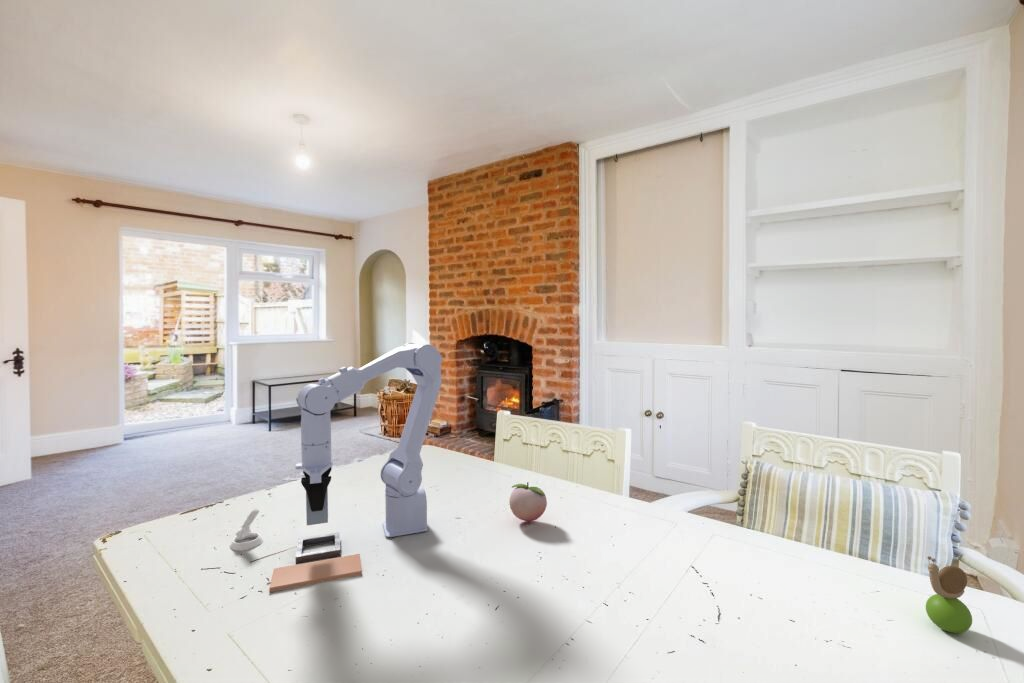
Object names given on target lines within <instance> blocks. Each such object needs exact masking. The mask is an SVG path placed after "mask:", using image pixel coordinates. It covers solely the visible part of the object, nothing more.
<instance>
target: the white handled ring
mask: <svg viewBox="0 0 1024 683" xmlns="http://www.w3.org/2000/svg"><path fill="white" fill-rule="evenodd" d="M259 513H260V510H259V508H258V507H254V508H253V509H252V510H251V511H250V513H249V515H248V516H247V517H246V518H245V519H246V520H244V522H243V523H242V525H241V526H240V527H239V528H238V529H237V531H236V532H235V537H234V538H233V539H232V540H231V542H230V545H229V549H230V550H232V551H246V550H247V551H248V550H250V549H253V548H256V547H257V546H259V545H261V544H263V542H264V539H263V536H262V535H261V534H260V533H258V532H256V531H255V532H252V530H251V525H252V523H253V522H254V520H255V519H256V517H257V515H258V514H259ZM249 538H251V539H252V538H255V539H252V540H249V541H246V542H239V541H241V540H245V539H249Z"/></svg>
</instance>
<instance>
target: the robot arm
mask: <svg viewBox="0 0 1024 683" xmlns="http://www.w3.org/2000/svg"><path fill="white" fill-rule="evenodd" d="M442 363H443V356H442V355H441V354H440V352H439V350H438V349H437V347H436V346H434V345H432V344H429V343H427V344H418V343H413V342H407V343H405V344H404V345H401V346H398V347H395V348H393V349H392V350H390V351H388V352H386V353H385V354H383V355H380V356H379V357H378V358H375V359H374V360H372V361H370V362H369V363H367V364H365V365H363V366H361V367H359V368H356V367H353V366H349V367H347V366H342V367H340V368H338V371H337V372H336V373H334V374H332V375H330V376H327V377H325V378H324V377H320V378H319V379H318V380H317V381H318V383H310V384H309V383H308V384H307V385H305V386H303V387H302V388H301V390H299V392H298V395H297V397H295V400H296V404H297V406H298V407H299V408H300V417H301V418H300V432H301V433H300V434H301V435H300V441H301V444H300V445H301V448H300V449H301V462H299V463H298V462H297V463H296V464H295V470H302V474H303V475H304V476H303V477H301V479H300V480H301V481H300V483H301V485H302V487H303V488H304V490H305V494H306V493H307V495H308V499H309V504H310V508H311V511H312V512H314V511H321V510H323V507H324V501H325V494H326V490H327V487H329V485H330V483H331V480H332V476H331V475H330V474H331V472H332V467H333V460H332V427H331V426H332V420H331V411H332V409H333V408H334V406H335V404H338V403H340V402H342V401H344V400H346V399H347V398H349V397H351V396H353V395H355V394H358V392H361V391H362V390H363V389H364V388H365V384H366V383H367V382H368V381H370V380H373V379H375V378H377V377H380V376H381V375H384V374H385V373H388V372H391V371H392V370H394V369H395V370H396V369H397V368H400V369H401V368H402V369H405V370H407V371H408V373H410V374H411V375H412V377H413V379H414V380H415V383H416V384H417V386H416V389H415V392H414V395H413V398H412V401H411V404H410V408H409V411H408V414H407V417H406V421H405V423H404V427H403V428H402V433H401V436H400V438H399V442H398V445H397V447H396V448H395V449H394V450H393V451H391V452H390V453H389V456H388V458H387V460H386V462H384V463H383V465H382V468H381V469H380V479H381V481H382V483H384V485H385V490H384V491H385V495H384V497H385V520H384V521H382V527H383V531H384V535H385V538H386V539H387V538H388V539H389V538H392V537H399V536H405V535H406V536H407V535H410V534H418V533H423V532H427V531H428V514H427V513H428V502H427V501H428V500H427V499H428V498H427V493H426V489H425V488H421V484H422V482H423V475H422V472H423V471H422V470H423V466H424V463H423V460H422V457H421V451H422V447H423V444H424V441H425V437H426V435H427V432H428V428H429V424H430V422H431V418H432V416H433V415H432V414H433V412H434V409H435V406H436V402H437V399H438V396H439V392H440V391H441V387H442V384H443V383H442V370H441V365H442Z"/></svg>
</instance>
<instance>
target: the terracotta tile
mask: <svg viewBox="0 0 1024 683" xmlns="http://www.w3.org/2000/svg"><path fill="white" fill-rule="evenodd" d="M361 560H362V559H361V554H360V553H357V554H351V555H346V556H345V555H343V556H340V557H336V558H330V559H325V560H319V561H313V562H307V563H302V564H292V565H288V566H287V565H286V566H281V567H275V568H273V571H272V574H271V580H270V585H269V593H271V592H277V591H282V590H288V589H289V590H290V589H294V588H298V587H304V586H309V585H313V584H319V583H325V582H330V581H335V580H341V579H345V578H346V579H347V578H351V577H356V576H361V575H363V570H362V561H361Z"/></svg>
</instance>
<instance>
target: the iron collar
mask: <svg viewBox="0 0 1024 683" xmlns="http://www.w3.org/2000/svg"><path fill="white" fill-rule="evenodd" d="M340 533H341V532H333V533H328V534H327V533H325V534H321V535H313V536H307V537H301V538H297V544H296V550H295V551H296V552H295V565H297V564H303V563H309V562H315V561H320V560H326V559H332V558H338V557H341V537H340ZM328 543H334V547H335V548H330V549H324V550H323V549H322V550H317V551H312V552H305V553H303V549H304V547H311V546H316V545H322V544H328Z"/></svg>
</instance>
